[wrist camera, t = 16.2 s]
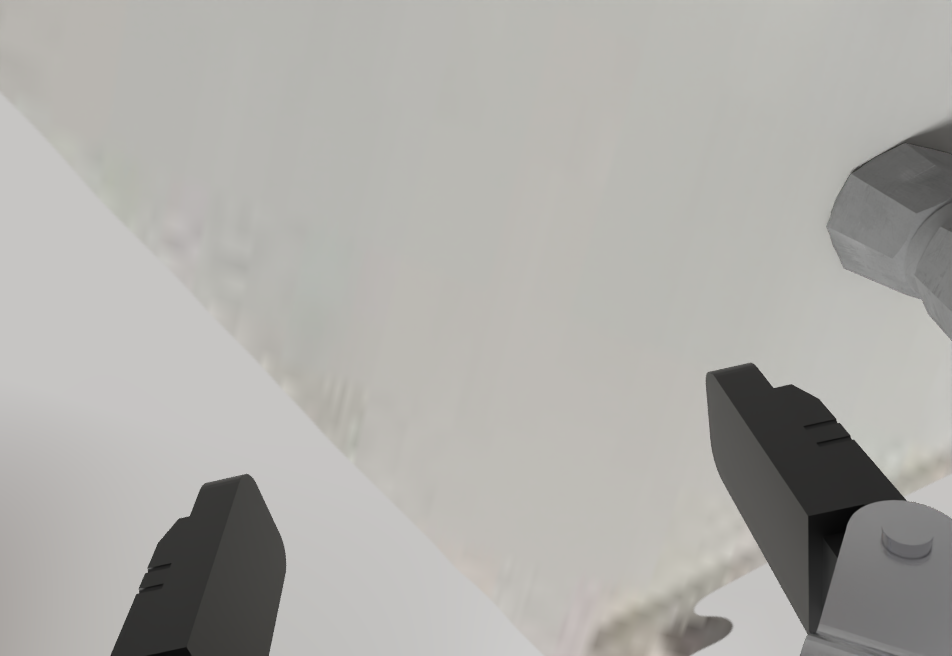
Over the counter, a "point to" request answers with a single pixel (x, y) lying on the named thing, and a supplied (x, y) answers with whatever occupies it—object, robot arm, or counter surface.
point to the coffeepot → (900, 226)
